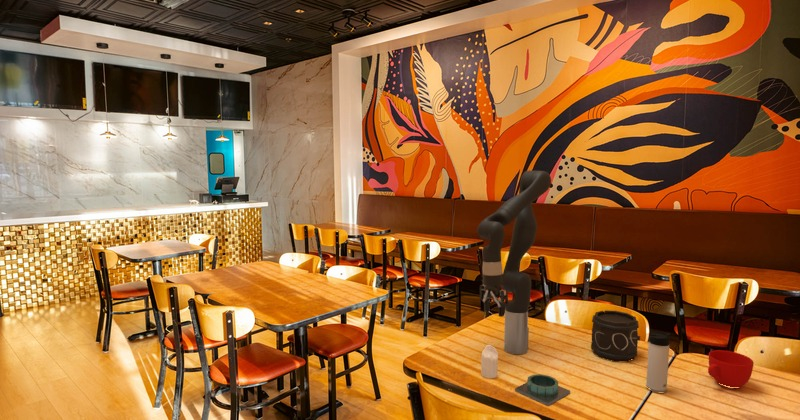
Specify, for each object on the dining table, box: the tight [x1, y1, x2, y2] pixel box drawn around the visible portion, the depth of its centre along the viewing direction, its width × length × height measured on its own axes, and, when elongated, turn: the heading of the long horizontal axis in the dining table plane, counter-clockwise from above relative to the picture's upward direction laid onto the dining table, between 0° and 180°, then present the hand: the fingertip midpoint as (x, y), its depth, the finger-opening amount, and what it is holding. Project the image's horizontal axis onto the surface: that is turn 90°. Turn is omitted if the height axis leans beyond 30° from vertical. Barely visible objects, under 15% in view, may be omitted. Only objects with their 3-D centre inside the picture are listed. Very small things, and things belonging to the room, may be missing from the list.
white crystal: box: [480, 344, 499, 379], centre depth 177 cm, size 6×12×6 cm
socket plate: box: [514, 374, 571, 407], centre depth 165 cm, size 13×13×4 cm
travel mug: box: [645, 331, 672, 393], centre depth 166 cm, size 6×7×20 cm
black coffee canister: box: [590, 309, 641, 362], centre depth 196 cm, size 18×18×16 cm
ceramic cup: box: [707, 349, 754, 388], centre depth 169 cm, size 13×17×10 cm
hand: (494, 313), depth 188 cm, fingers open, 8 cm apart
